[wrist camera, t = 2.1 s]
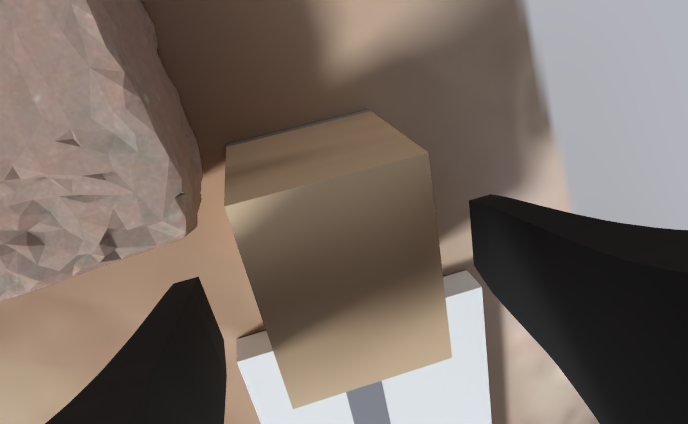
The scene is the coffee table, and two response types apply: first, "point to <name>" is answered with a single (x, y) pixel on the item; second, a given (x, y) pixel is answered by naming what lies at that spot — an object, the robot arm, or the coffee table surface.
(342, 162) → the block
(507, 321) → the coffee table surface
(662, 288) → the robot arm
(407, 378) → the board
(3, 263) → the brick
